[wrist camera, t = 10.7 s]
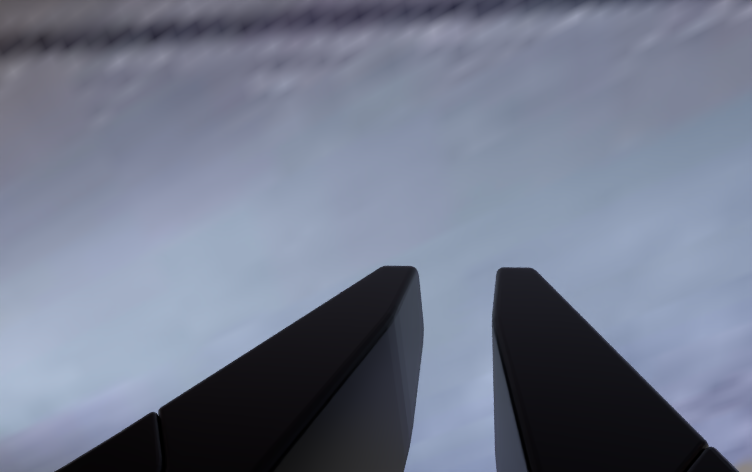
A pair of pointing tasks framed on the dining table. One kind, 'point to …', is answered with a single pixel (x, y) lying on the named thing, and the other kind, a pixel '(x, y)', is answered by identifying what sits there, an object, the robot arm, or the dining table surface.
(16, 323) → the dining table surface
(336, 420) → the robot arm
